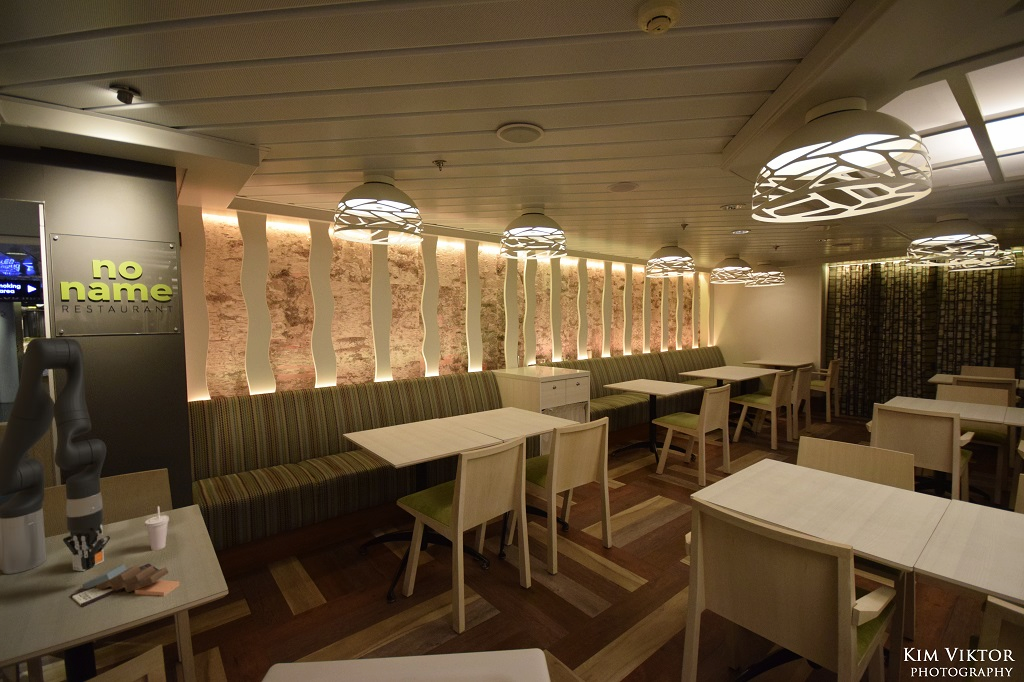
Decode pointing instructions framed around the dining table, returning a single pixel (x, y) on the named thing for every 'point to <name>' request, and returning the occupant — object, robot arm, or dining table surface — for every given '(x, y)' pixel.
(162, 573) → the domino
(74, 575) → the dining table surface
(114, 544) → the dining table surface
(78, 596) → the chocolate bar
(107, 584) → the domino
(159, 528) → the smoothie
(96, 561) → the skincare box
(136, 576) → the domino
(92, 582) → the domino
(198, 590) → the dining table surface
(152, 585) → the domino end
